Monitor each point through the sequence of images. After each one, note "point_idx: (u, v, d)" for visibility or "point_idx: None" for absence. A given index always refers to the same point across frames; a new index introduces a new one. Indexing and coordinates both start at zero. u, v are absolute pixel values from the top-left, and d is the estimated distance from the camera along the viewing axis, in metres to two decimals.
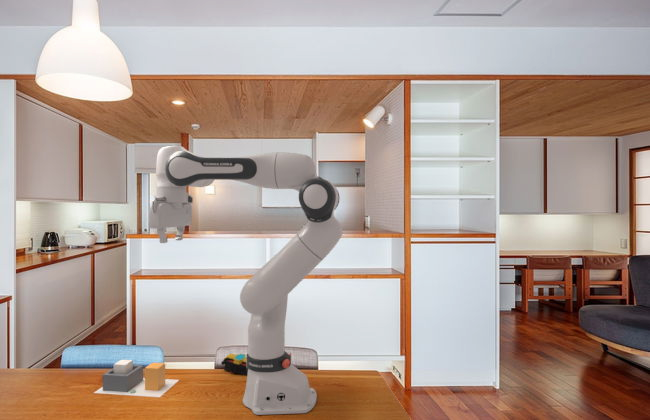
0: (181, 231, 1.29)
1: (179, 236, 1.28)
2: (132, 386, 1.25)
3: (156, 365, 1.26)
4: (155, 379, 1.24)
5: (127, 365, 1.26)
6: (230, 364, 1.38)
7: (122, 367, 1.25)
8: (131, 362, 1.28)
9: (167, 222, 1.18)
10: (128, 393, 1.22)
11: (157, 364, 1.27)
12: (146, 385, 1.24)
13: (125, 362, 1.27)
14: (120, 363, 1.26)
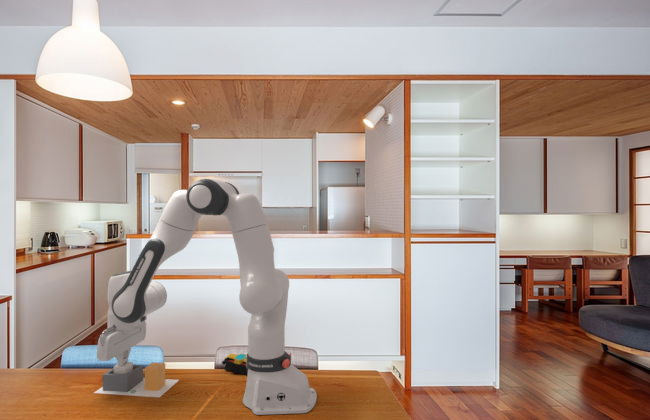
0: (127, 353, 1.29)
1: None
2: (132, 386, 1.25)
3: (156, 365, 1.26)
4: (155, 379, 1.24)
5: (127, 367, 1.26)
6: (230, 364, 1.38)
7: (122, 369, 1.25)
8: (131, 364, 1.28)
9: (116, 350, 1.21)
10: (128, 393, 1.22)
11: (157, 364, 1.27)
12: (146, 385, 1.24)
13: (125, 364, 1.27)
14: None
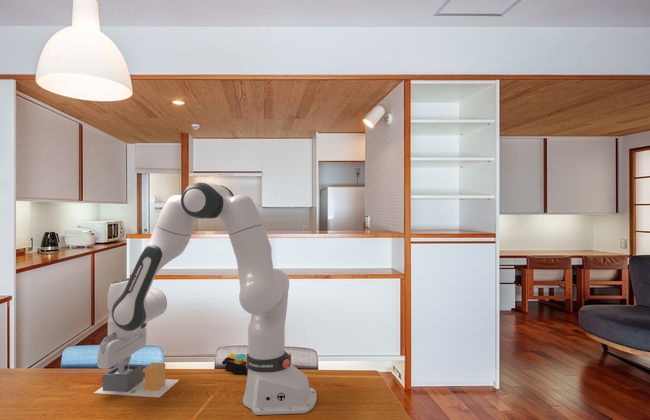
0: (127, 360, 1.29)
1: None
2: (132, 386, 1.25)
3: (156, 365, 1.26)
4: (155, 379, 1.24)
5: None
6: (230, 364, 1.38)
7: None
8: None
9: (117, 358, 1.21)
10: (128, 393, 1.22)
11: (157, 364, 1.27)
12: (146, 385, 1.24)
13: (125, 371, 1.27)
14: None
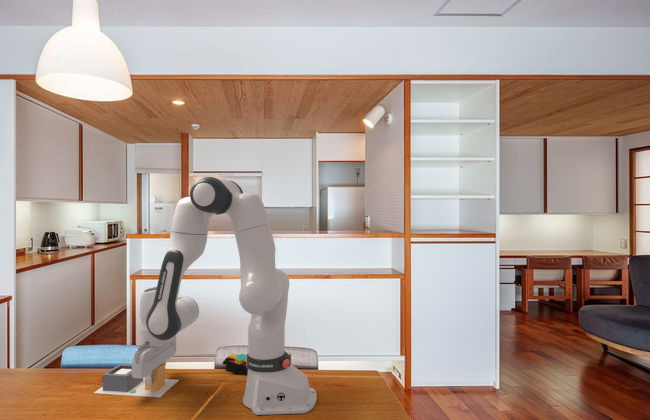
0: None
1: None
2: (132, 386, 1.25)
3: None
4: (155, 379, 1.24)
5: None
6: (231, 364, 1.38)
7: None
8: None
9: (150, 367, 1.20)
10: (128, 393, 1.22)
11: None
12: (146, 385, 1.24)
13: (125, 371, 1.27)
14: (120, 372, 1.26)
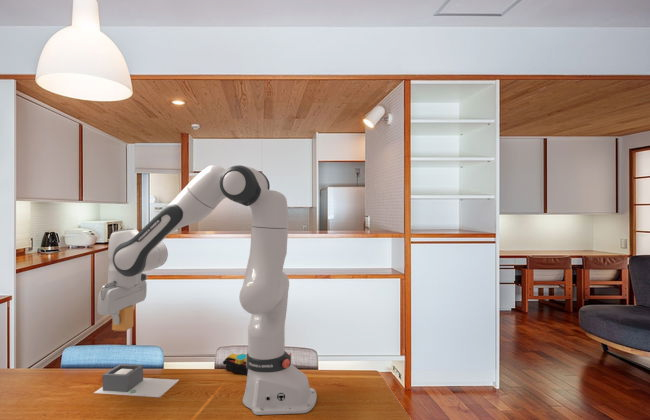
0: None
1: None
2: (132, 386, 1.25)
3: None
4: (122, 319, 1.25)
5: None
6: (231, 364, 1.38)
7: None
8: None
9: (117, 306, 1.21)
10: (128, 393, 1.22)
11: None
12: (113, 325, 1.25)
13: (125, 371, 1.27)
14: (120, 372, 1.26)
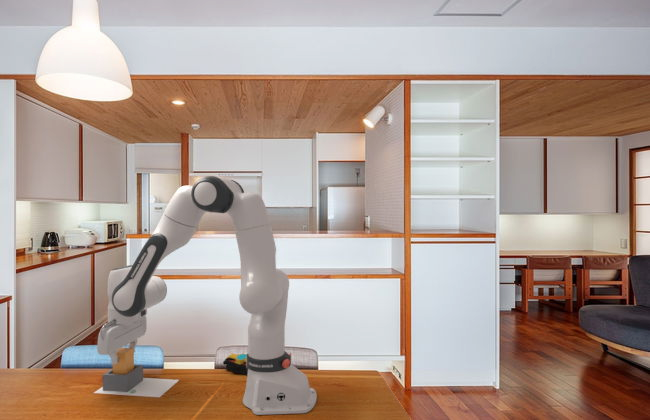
0: (133, 344, 1.32)
1: None
2: (132, 386, 1.25)
3: (124, 350, 1.27)
4: (123, 363, 1.25)
5: None
6: (231, 364, 1.38)
7: None
8: None
9: (117, 344, 1.21)
10: (128, 393, 1.22)
11: (125, 349, 1.28)
12: (114, 369, 1.25)
13: None
14: None
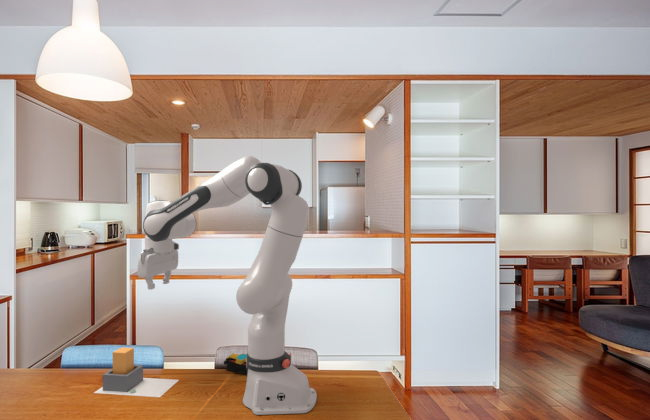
0: (168, 275, 1.42)
1: (166, 280, 1.41)
2: (132, 386, 1.25)
3: (124, 350, 1.27)
4: (123, 363, 1.25)
5: None
6: (232, 364, 1.38)
7: None
8: None
9: (154, 270, 1.31)
10: (128, 393, 1.22)
11: (125, 349, 1.28)
12: (114, 369, 1.25)
13: None
14: None
